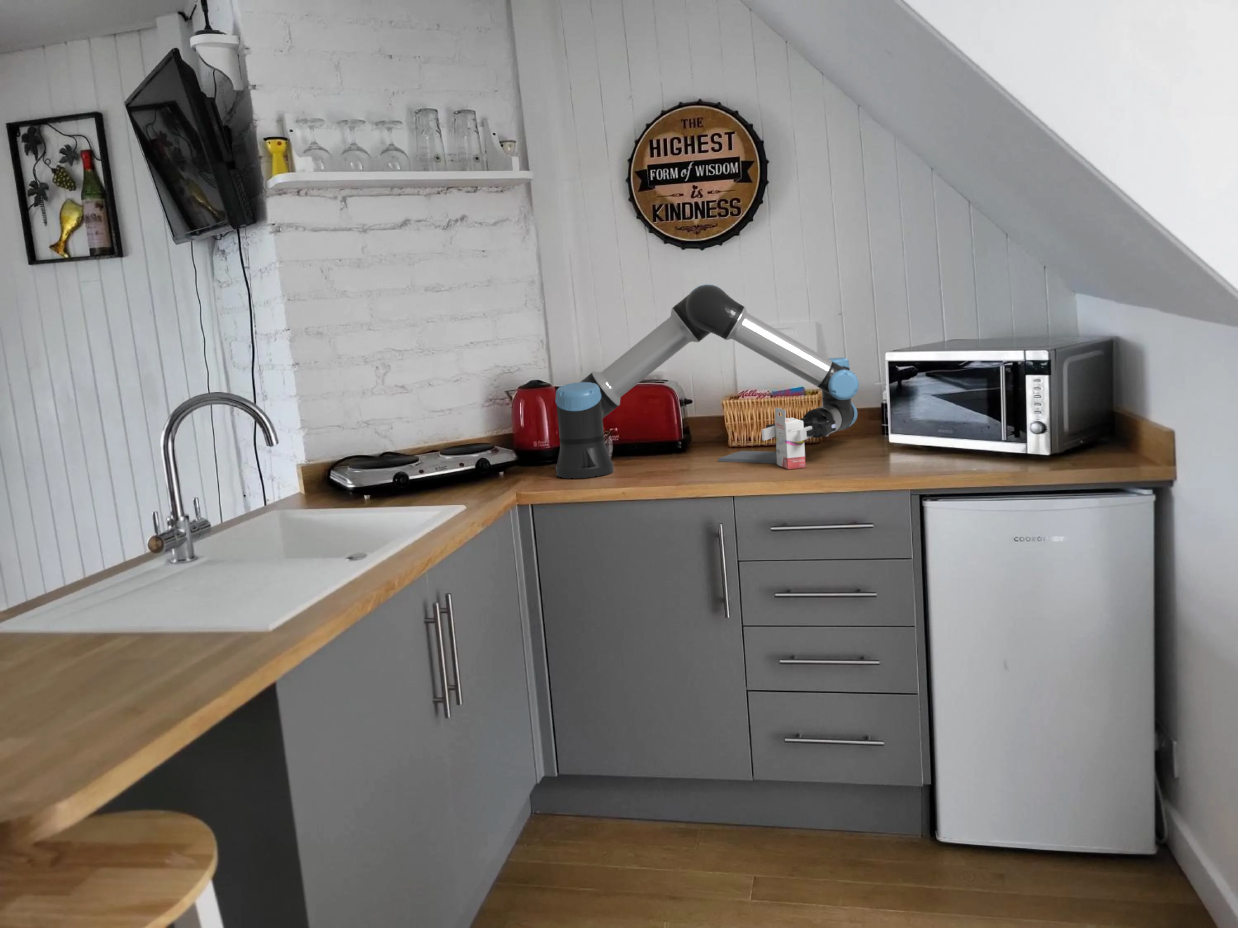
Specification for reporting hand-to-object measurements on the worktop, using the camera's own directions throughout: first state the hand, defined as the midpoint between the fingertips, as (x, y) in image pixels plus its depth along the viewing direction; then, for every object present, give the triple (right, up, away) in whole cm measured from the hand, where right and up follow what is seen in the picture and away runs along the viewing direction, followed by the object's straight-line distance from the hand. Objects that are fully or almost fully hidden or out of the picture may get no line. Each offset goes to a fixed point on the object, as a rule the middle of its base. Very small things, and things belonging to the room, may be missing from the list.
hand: (780, 435), depth 259 cm
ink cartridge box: (+3, -8, +5) cm, 10 cm away
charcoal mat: (-3, -5, +20) cm, 21 cm away
